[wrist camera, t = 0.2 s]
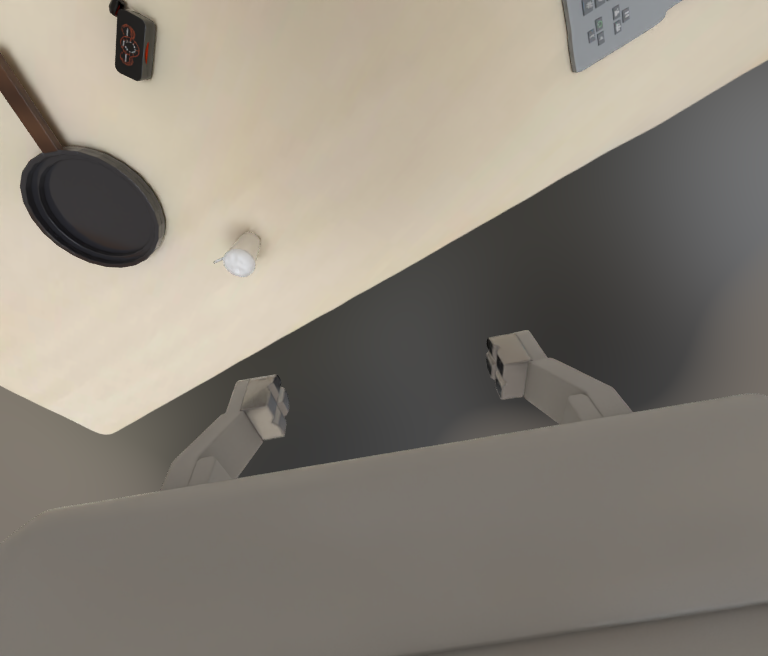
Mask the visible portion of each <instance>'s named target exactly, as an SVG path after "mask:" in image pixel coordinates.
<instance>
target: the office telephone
mask: <svg viewBox="0 0 768 656" xmlns="http://www.w3.org/2000/svg"><path fill="white" fill-rule="evenodd" d="M562 1H563V7H564V13H565V19H566V26H567V32H568V46H569V52H570V58H571V64H572V70H573V72H581V71H583V70H585V69H586V68H588V67H590V66H591V65H593V64H594V63H596V62H598V61H599V60H601V59H603V58H604V57H606V56H607V55H609V54H611V53H612V52H614V51H615V50H617V49H619V48H620V47H622V46H624V45H625V44H627V43H628V42H630V41H632V40H633V39H635V38H636V37H638V36H640V35H641V34H643V33H645V32H646V31H648V30H649V29H651V28H652V27H654V26H655V25H657V24H658V23H659V22H661V21H662V20H663V18H664V17H665V14H666V11H667V10H668V9H670V8H671V7H673V6H674V5H676V4H677V3H679V2H680V1H682V0H562Z"/></svg>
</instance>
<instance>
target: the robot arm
mask: <svg viewBox="0 0 768 656" xmlns="http://www.w3.org/2000/svg"><path fill="white" fill-rule="evenodd" d="M487 347H488V349H489V352H488V353H487V354H486V360H487V368H488V371H489V374H490V376H491V378H492V379H494V380H495V387H496V389H497V391H498V394H499V395H500V398H501V399H502V400H504V399H511V398H517V397H524V398H525V399H527V400H528V401H529V402H531V403H532V404H533V405H535V406H536V407H537V408H539V409H540V410H541V411H543V412H544V413H545V414H547V415H548V416H549V417H551V418H552V419H553V420H555V421H556V422H557V423H559V424H560V425H555V426H549V427H543V428H537V429H531V430H525V431H519V432H514V433H507V434H501V435H495V436H489V437H483V438H477V439H471V440H466V441H459V442H453V443H447V444H441V445H435V446H430V447H424V448H417V449H411V450H405V451H399V452H393V453H387V454H381V455H375V456H369V457H363V458H357V459H351V460H345V461H339V462H333V463H327V464H321V465H315V466H309V467H303V468H297V469H291V470H285V471H279V472H274V473H267V474H261V475H255V476H249V477H243V478H237V477H238V476H239V475H240V473H241V472H242V470H243V469H244V467H245V466H246V465H247V463H248V462H249V461H250V459H251V458H252V457H253V455H254V454H255V452H256V451H257V450H258V448H259V447H260V445H261V444H262V442H263V441H264V440H269V439H274V438H279V437H284V436H285V430H286V424H287V421H286V420H285V418H284V417H285V416H286V415H287V414H288V411H289V398H288V394H287V392H286V390H285V389H284V388H282V387H280V386H281V380H280V378H279V376H278V375H271V376H265V377H257V378H251V379H246V380H240V381H238V382H237V383H236V385H235V387H234V390H233V393H232V396H231V399H230V402H229V405H228V408H227V411H226V414H222V415H221V416H220V417H219V418H218V419H216V421H214V422H213V423H212V424H211V425H210V426H209V427H208V428H207V429H206V430H205V431H204V432H203V433H202V434H201V435H200V436H199V437H198V438H197V439H196V440H195V441H194V442H192V443H191V444H190V445H189V446H188V447H187V448H186V449H185V450H184V451H183V452H182V453H181V454H180V455H179V456H178V457H177V458H176V459H175V460H174V461H173V462H172V464H171V466H170V469H169V471H168V473H167V476H166V478H165V481H164V483H163V485H162V487H161V489H160V491H159V492H153V493H147V494H141V495H135V496H129V497H123V498H118V499H111V500H105V501H99V502H93V503H87V504H80V505H74V506H67V507H60V508H56V509H51V510H48V511H45V512H43V513H41V514H39V515H38V516H36V517H35V518H33V519H32V520H30V521H29V522H28V523H26V524H25V525H24V526H22V527H21V528H19V529H18V530H17V531H16V532H14V533H13V534H12V535H10V536H9V537H8V538H7V539H5V540H4V541H3V542H2V543H0V656H768V396H765V395H762V394H742V395H734V396H729V397H724V398H718V399H712V400H705V401H700V402H693V403H687V404H682V405H676V406H669V407H663V408H658V409H651V410H645V411H639V412H632V411H631V410H630V408H629V407H628V406H627V404H626V403H625V402H624V401H623V400H622V398H621V397H620V396H619V395H618V393H617V392H616V391H615V390H614V388H612V387H611V386H609V385H606V384H604V383H602V382H600V381H598V380H596V379H594V378H592V377H590V376H588V375H586V374H584V373H582V372H580V371H578V370H576V369H574V368H572V367H570V366H567V365H565V364H564V363H561V362H559V361H557V360H555V359H553V358H547V356H546V355H545V354H544V352H543V351H542V349H541V348H540V346H539V345H538V343H537V342H536V340H535V339H534V337H533V336H532V334H531V333H530V331H528V330H526V331H521V332H515V333H511V334H505V335H500V336H494V337H489V338H488V339H487Z"/></svg>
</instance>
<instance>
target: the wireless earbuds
mask: <svg viewBox="0 0 768 656" xmlns="http://www.w3.org/2000/svg"><path fill="white" fill-rule="evenodd" d="M125 7H126V4H125V3H124V2H123V1H122V0H111V2H110V4H109V10H110V13H111V14H112V15H114V16H115V17H117V35H116V56H115V67H116V69H117V71H118V72H120V73H121V74H123V75H125V76H127V77H129V78H132V79H134V80H136V81H142V80H149V79H150V78H151V75H152V65H153V54H154V44H155V33H156V26H155V24H154V22H153V21H151V20H150V19H148V18H146V17H144V16H142V15H141V14H139V13H137V12H135V11H131V10H126V9H125Z"/></svg>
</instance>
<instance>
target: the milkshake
mask: <svg viewBox="0 0 768 656" xmlns="http://www.w3.org/2000/svg"><path fill="white" fill-rule="evenodd" d="M260 245H261V243H260V238H259V237H258V236H257V235H256V234H255V233H252V232H246V233H243V234H242V235H241V237H240V238H239V239H238V240H237V242H236V243H235V244H234V245H233V246H232V247H231V248H230V249H229V250H228V251H227V252H226V253H225V255H224V257H222V258H220V259H218V260H215V261H214V264H215V263H217V262H219V261H222V260H223V263H224V266H225V268H226V269H227V270H228V271H229V272H230V273H231V274H233V275H236V276H239V277H246V276H248V275H250V274H251V273H253V271H254V269H255V266H256V261H257V257H258V253H259V249H260Z"/></svg>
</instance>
